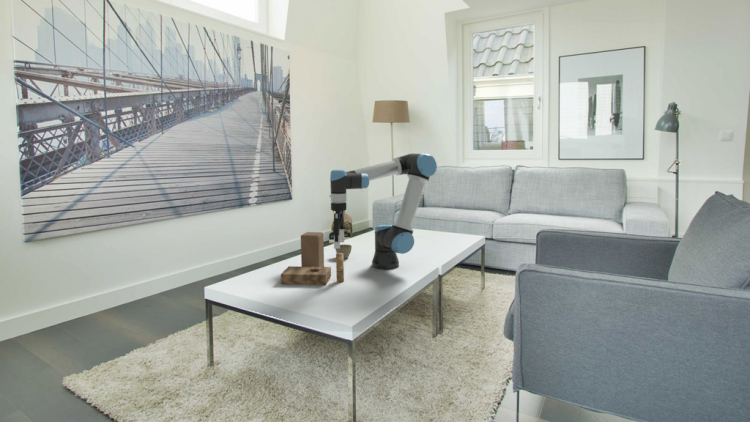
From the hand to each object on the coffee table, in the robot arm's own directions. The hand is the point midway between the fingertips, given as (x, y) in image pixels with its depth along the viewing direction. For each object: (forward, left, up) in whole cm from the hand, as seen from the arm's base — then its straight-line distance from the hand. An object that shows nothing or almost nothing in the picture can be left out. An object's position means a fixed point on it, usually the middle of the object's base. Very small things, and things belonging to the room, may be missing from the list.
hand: (339, 245), depth 211 cm
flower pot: (+5, -46, -19) cm, 50 cm away
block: (+18, -20, -19) cm, 33 cm away
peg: (0, 0, -18) cm, 18 cm away
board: (+17, -1, -18) cm, 25 cm away
